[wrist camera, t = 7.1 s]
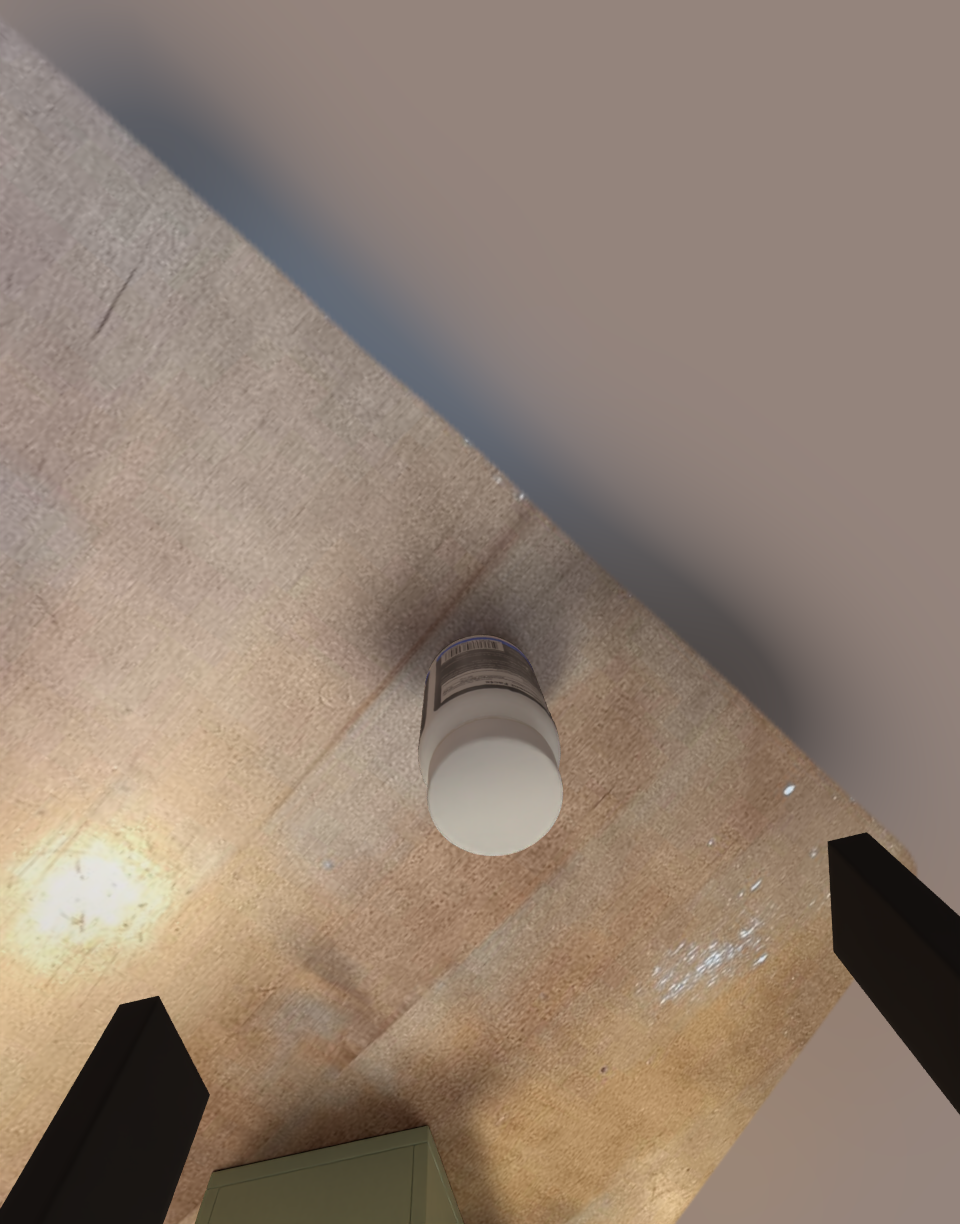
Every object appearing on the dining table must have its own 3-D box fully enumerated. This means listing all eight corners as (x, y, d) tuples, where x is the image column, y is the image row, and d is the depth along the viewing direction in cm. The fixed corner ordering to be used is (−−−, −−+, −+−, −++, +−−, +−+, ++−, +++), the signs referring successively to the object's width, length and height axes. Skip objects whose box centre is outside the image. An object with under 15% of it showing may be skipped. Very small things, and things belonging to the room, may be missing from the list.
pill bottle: (501, 749, 25) (525, 891, 17) (406, 705, 24) (385, 833, 16) (555, 661, 24) (607, 768, 16) (457, 612, 23) (461, 699, 15)
